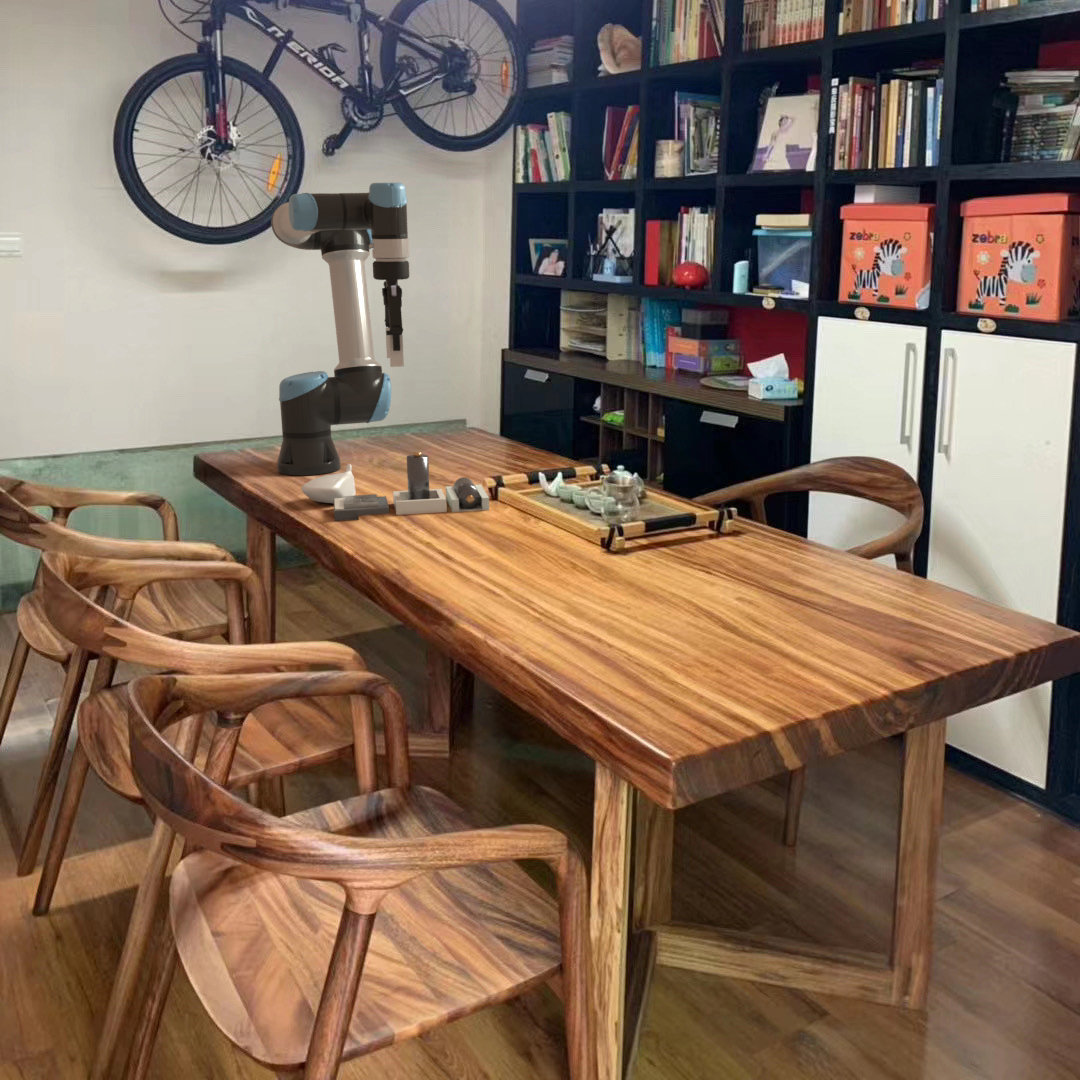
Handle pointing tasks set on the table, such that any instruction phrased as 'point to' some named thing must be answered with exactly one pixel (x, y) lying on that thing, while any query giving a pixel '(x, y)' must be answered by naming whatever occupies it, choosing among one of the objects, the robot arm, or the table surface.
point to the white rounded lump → (330, 486)
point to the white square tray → (419, 503)
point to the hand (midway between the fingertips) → (395, 362)
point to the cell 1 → (418, 476)
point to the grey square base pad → (358, 509)
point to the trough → (457, 507)
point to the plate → (360, 501)
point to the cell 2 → (467, 493)
